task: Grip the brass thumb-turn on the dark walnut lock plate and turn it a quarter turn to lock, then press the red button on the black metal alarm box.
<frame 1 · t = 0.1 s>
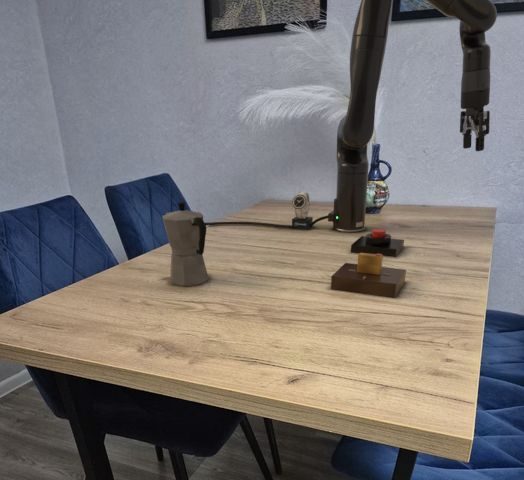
hand: (473, 149, 141), 22 cm above the table, tool pointing down, fingers open, 8 cm apart
watch: (302, 228, 154), on the table
arm button: (378, 233, 127), point 5 cm above the table, slide at 0.2 cm
alarm box: (377, 250, 129), on the table
lock plate: (368, 285, 105), on the table
coffeepot: (192, 281, 111), on the table
thumbturn: (369, 263, 102), point 5 cm above the table, hinge at 0.0°
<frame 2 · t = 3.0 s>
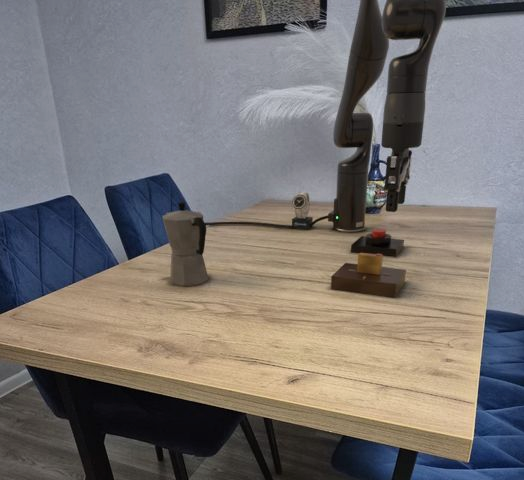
hand: (395, 207, 97), 17 cm above the table, tool pointing down, fingers open, 8 cm apart
nothing on the table moved.
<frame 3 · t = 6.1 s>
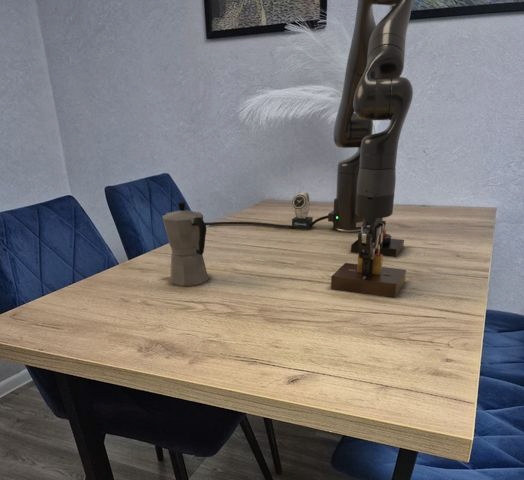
hand: (369, 272, 103), 3 cm above the table, tool pointing down, fingers closed on lock plate, 3 cm apart
nothing on the table moved.
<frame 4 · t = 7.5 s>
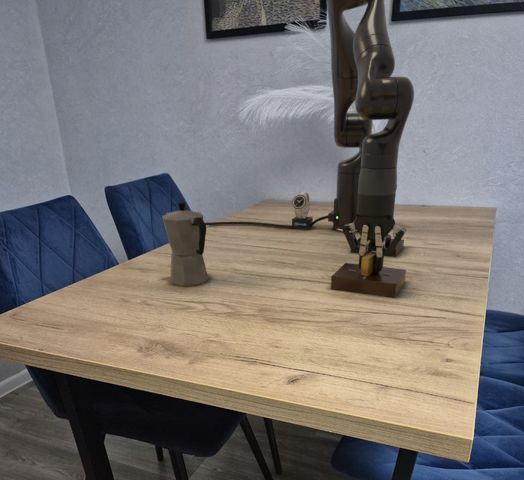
hand: (370, 271, 104), 3 cm above the table, tool pointing down, fingers closed
thumbturn: (369, 263, 102), point 5 cm above the table, hinge at 78.3°
everything else where it was.
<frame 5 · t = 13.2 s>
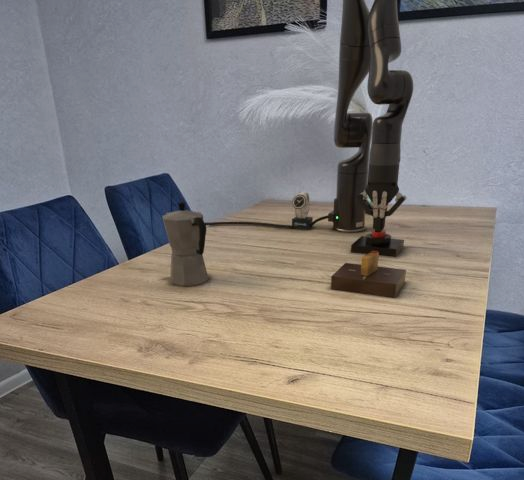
hand: (378, 231, 126), 5 cm above the table, tool pointing down, fingers closed
arm button: (378, 234, 127), point 4 cm above the table, slide at 0.0 cm, touching gripper
everything else where it was.
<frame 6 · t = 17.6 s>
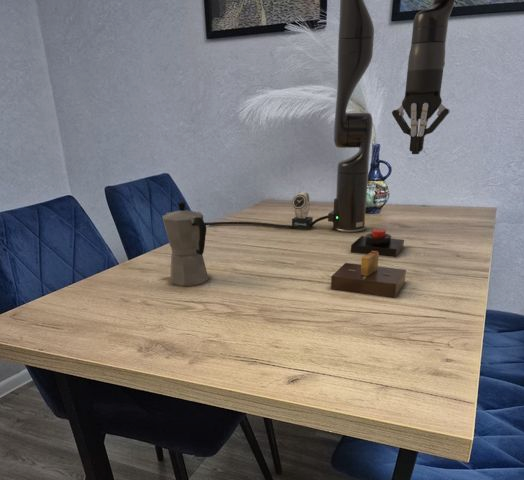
hand: (415, 153, 111), 25 cm above the table, tool pointing down, fingers closed
arm button: (378, 233, 127), point 5 cm above the table, slide at 0.1 cm
everything else where it was.
at the end: thumbturn at +78° (first picture: +0°); arm button pushed in 1.2 cm at the most during the clip, back to where it started at the end; arm button slide at 0.1 cm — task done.
